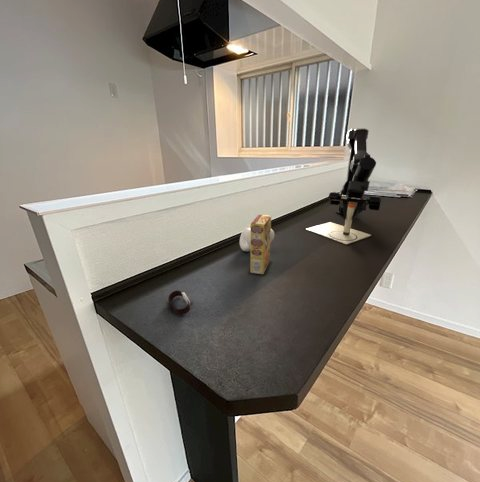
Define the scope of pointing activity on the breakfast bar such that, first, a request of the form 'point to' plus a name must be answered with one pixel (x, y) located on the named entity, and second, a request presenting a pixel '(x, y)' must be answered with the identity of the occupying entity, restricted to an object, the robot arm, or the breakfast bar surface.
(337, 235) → the sketch pad
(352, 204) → the marker
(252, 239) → the candy box
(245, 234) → the white rounded lump
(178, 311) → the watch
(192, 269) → the breakfast bar surface
